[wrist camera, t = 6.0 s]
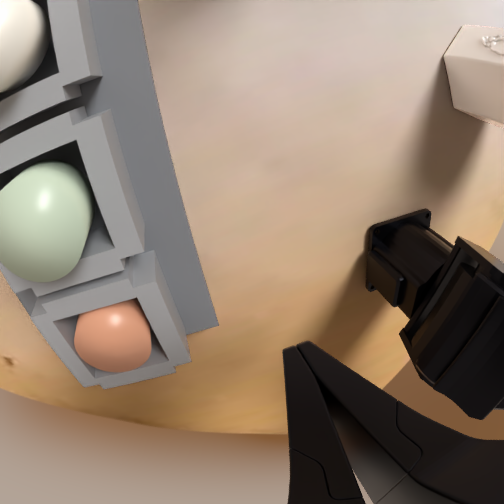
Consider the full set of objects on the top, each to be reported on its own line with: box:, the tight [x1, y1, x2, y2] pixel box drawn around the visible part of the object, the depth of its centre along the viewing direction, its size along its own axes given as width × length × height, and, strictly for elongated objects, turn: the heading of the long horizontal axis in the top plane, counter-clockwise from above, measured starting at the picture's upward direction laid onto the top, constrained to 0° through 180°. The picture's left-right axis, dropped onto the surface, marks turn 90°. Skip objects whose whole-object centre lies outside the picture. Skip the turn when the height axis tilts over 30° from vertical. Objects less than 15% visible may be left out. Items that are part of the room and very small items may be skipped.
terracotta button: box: [74, 298, 151, 372], centre depth 17 cm, size 4×4×3 cm
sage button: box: [0, 159, 95, 282], centre depth 11 cm, size 4×4×3 cm
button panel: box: [0, 0, 219, 389], centre depth 14 cm, size 12×24×5 cm, turn 9°
